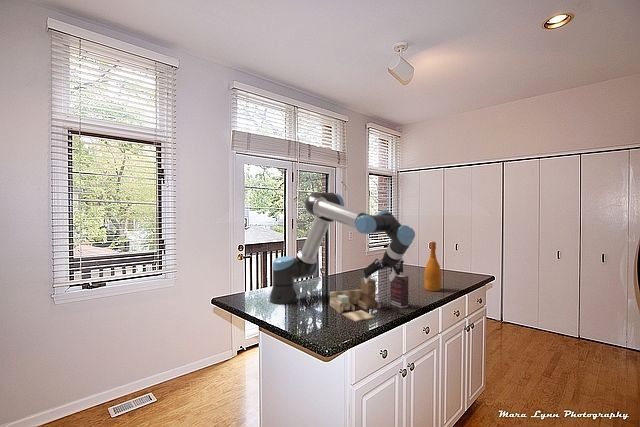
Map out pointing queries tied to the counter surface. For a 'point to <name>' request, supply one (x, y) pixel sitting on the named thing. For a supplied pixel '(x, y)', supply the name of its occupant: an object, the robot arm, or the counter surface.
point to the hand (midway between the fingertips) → (377, 280)
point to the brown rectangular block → (368, 292)
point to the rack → (353, 299)
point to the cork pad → (358, 315)
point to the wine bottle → (432, 271)
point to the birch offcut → (346, 306)
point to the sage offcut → (343, 298)
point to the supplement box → (399, 291)
